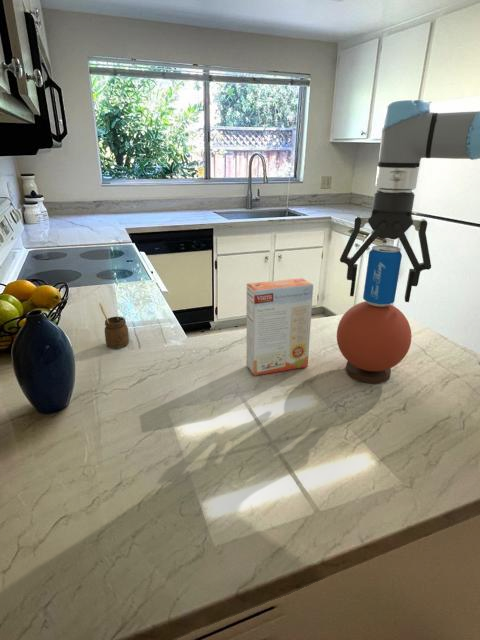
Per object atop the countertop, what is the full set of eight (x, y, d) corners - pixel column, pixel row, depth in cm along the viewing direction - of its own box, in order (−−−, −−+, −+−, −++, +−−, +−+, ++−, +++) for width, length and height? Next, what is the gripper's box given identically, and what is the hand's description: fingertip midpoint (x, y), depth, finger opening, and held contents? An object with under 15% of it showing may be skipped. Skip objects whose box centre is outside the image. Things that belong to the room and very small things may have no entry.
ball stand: (402, 362, 99) (414, 295, 92) (405, 396, 85) (420, 320, 78) (336, 352, 104) (343, 288, 97) (329, 383, 90) (337, 310, 83)
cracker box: (297, 356, 101) (303, 276, 93) (308, 368, 96) (315, 284, 88) (244, 364, 97) (245, 281, 89) (253, 376, 92) (255, 290, 84)
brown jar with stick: (129, 347, 105) (124, 304, 101) (104, 350, 104) (98, 306, 99) (129, 338, 111) (125, 297, 106) (105, 340, 109) (100, 299, 105)
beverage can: (358, 303, 87) (365, 248, 82) (368, 295, 92) (375, 243, 87) (388, 310, 83) (398, 253, 79) (397, 301, 88) (406, 247, 84)
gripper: (332, 190, 79) (322, 296, 87) (463, 194, 72) (439, 309, 81) (336, 187, 85) (327, 286, 94) (456, 191, 79) (434, 297, 87)
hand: (378, 297), depth 87 cm, fingers open, 11 cm apart
